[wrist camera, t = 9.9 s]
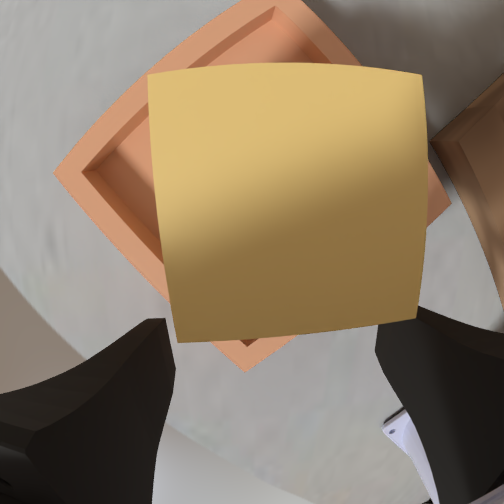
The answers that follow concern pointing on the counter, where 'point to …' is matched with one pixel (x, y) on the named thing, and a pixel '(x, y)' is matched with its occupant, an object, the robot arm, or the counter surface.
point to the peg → (289, 197)
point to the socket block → (480, 170)
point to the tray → (139, 146)
